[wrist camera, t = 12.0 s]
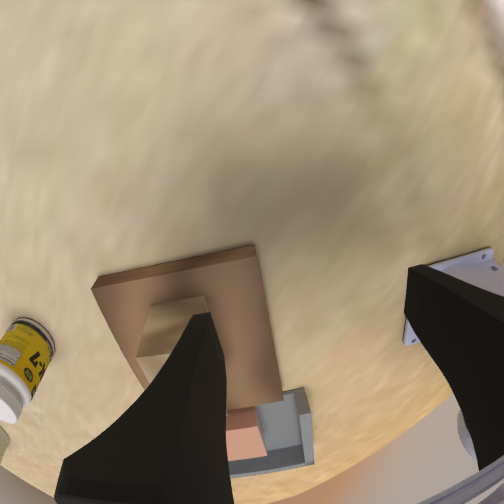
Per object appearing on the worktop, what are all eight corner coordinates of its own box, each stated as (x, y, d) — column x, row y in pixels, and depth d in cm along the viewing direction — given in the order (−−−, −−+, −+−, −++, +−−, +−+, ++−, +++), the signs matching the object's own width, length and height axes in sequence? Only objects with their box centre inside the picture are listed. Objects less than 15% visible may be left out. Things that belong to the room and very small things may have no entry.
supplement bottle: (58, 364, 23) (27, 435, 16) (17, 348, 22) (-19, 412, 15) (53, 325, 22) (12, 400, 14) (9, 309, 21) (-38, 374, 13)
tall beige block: (204, 295, 20) (201, 349, 15) (224, 362, 22) (227, 416, 18) (150, 304, 20) (135, 357, 15) (178, 368, 22) (172, 421, 18)
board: (254, 245, 20) (256, 256, 19) (281, 386, 26) (284, 400, 25) (98, 276, 20) (90, 288, 19) (163, 404, 26) (161, 417, 25)
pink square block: (254, 399, 26) (257, 426, 23) (263, 432, 29) (267, 455, 26) (189, 408, 26) (188, 434, 23) (207, 439, 29) (207, 463, 26)
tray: (303, 387, 27) (310, 412, 24) (309, 443, 32) (314, 464, 29) (147, 410, 26) (143, 434, 24) (185, 461, 31) (184, 481, 29)
